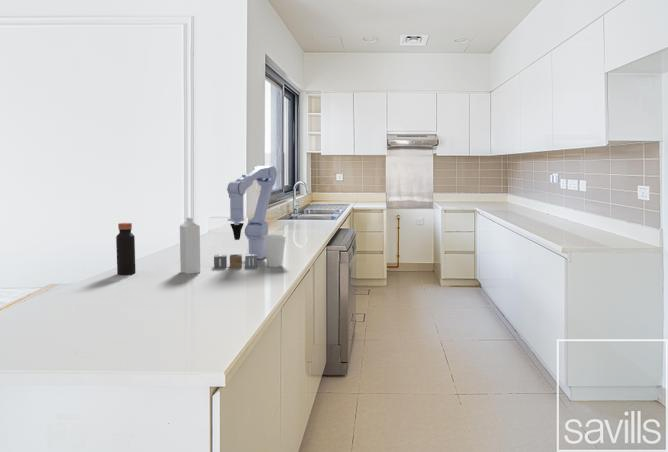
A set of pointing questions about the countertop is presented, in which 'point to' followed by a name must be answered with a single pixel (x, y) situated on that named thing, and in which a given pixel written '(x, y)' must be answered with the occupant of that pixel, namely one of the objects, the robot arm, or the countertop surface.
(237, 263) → the walnut block
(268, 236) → the foam cup
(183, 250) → the milk
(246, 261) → the slate block
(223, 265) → the charcoal block
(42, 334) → the countertop surface
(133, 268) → the bottle
